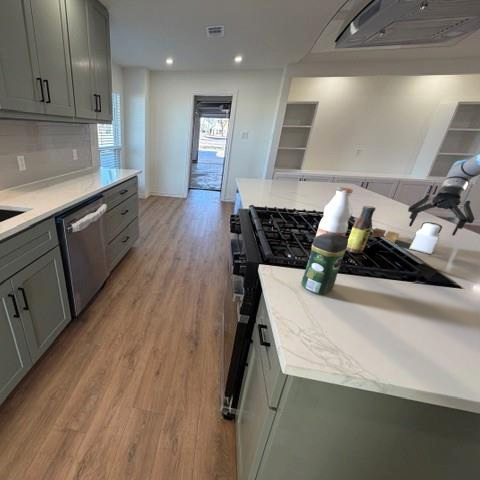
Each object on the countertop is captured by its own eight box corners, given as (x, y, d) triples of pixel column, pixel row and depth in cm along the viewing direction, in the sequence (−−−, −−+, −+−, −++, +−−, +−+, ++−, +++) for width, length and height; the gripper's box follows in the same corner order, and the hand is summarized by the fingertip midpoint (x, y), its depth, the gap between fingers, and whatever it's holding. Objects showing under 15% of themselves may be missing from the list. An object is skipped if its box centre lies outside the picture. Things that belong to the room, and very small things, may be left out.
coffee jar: (312, 277, 88) (327, 228, 81) (336, 289, 82) (355, 236, 75) (295, 285, 84) (310, 233, 76) (319, 298, 78) (338, 243, 70)
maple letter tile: (396, 241, 120) (399, 233, 119) (394, 243, 118) (397, 235, 116) (385, 238, 123) (388, 231, 122) (383, 240, 121) (386, 232, 119)
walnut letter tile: (382, 238, 124) (386, 230, 122) (380, 240, 121) (383, 232, 120) (373, 235, 127) (375, 228, 125) (370, 237, 124) (373, 229, 123)
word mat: (433, 249, 113) (433, 248, 113) (429, 255, 107) (430, 254, 107) (373, 234, 129) (373, 233, 129) (367, 239, 123) (367, 238, 123)
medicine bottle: (411, 244, 117) (422, 219, 113) (432, 249, 113) (445, 224, 108) (409, 248, 113) (421, 223, 108) (431, 253, 108) (444, 227, 103)
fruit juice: (306, 254, 106) (325, 187, 95) (317, 248, 111) (336, 185, 100) (330, 263, 99) (354, 192, 88) (341, 257, 104) (364, 189, 93)
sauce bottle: (361, 255, 106) (378, 210, 98) (343, 251, 110) (359, 206, 102) (363, 250, 110) (380, 206, 102) (346, 246, 114) (361, 203, 106)
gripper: (415, 180, 119) (395, 216, 116) (498, 190, 101) (477, 233, 99) (412, 190, 124) (393, 225, 121) (491, 201, 107) (471, 242, 104)
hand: (431, 229), depth 110 cm, fingers open, 13 cm apart
